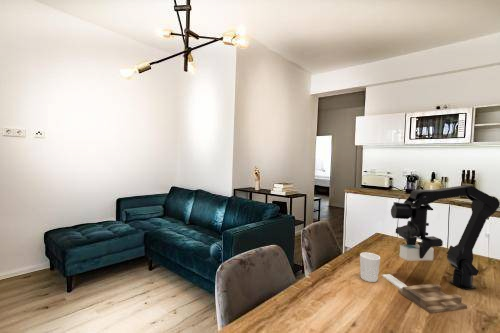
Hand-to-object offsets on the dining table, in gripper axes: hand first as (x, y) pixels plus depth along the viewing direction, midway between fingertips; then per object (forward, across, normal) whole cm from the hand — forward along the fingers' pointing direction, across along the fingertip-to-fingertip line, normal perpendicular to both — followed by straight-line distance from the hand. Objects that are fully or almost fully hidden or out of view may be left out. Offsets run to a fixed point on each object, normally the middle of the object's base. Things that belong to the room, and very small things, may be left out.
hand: (416, 255), depth 113 cm
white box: (+1, 0, 0) cm, 1 cm away
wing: (+12, 0, -9) cm, 15 cm away
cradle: (+11, +14, -6) cm, 19 cm away
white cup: (+11, -5, -18) cm, 22 cm away
